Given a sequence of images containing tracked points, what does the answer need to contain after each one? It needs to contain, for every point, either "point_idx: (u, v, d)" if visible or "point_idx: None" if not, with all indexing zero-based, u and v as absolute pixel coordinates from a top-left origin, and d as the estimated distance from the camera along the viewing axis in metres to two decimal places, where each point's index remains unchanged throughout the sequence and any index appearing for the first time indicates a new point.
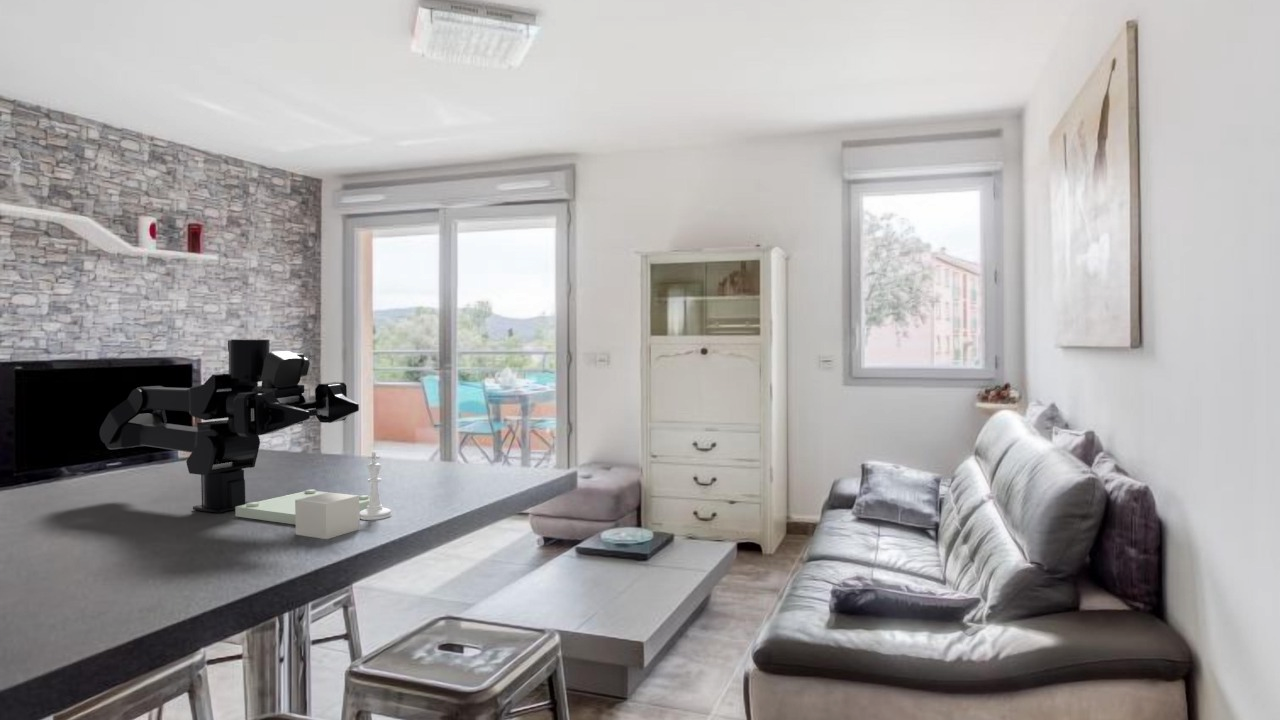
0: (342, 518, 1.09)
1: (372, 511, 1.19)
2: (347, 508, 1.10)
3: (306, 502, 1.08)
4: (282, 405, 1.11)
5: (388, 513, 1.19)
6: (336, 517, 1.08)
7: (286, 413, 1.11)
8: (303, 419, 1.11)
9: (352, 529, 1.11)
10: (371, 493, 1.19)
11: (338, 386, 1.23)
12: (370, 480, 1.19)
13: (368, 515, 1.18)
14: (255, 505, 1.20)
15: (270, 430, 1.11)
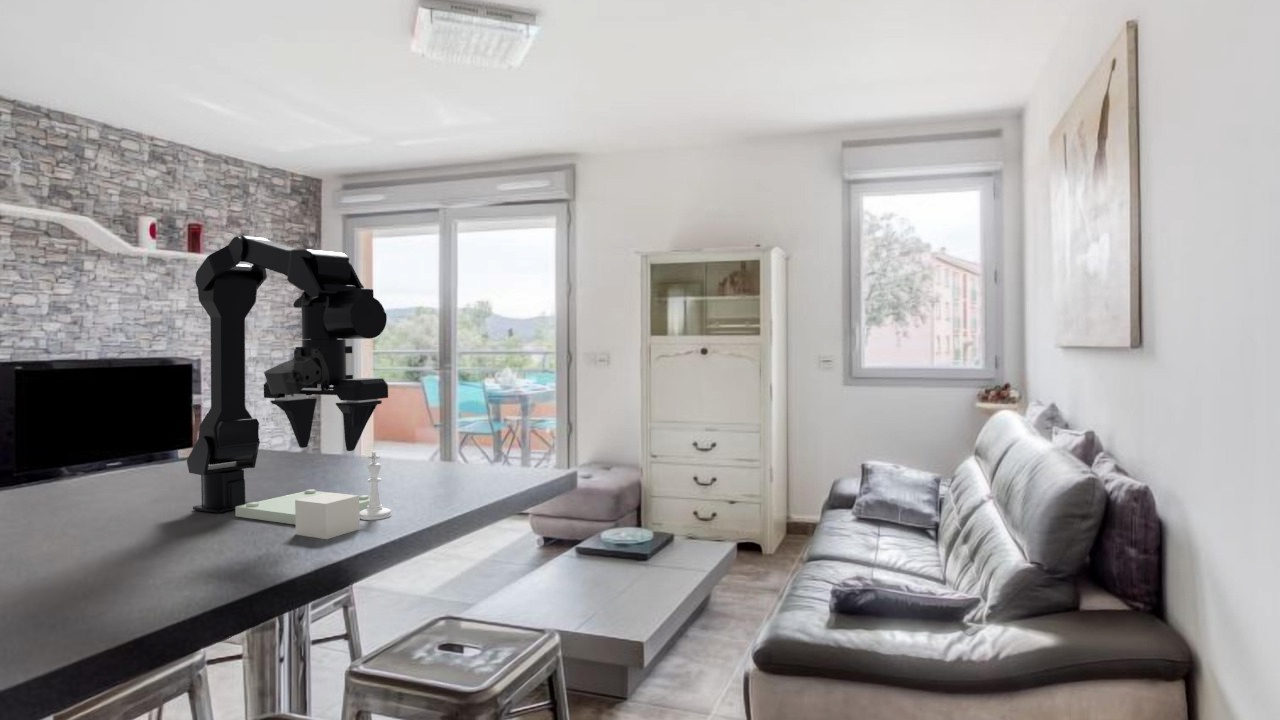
0: (342, 518, 1.09)
1: (372, 511, 1.19)
2: (347, 508, 1.10)
3: (306, 502, 1.08)
4: (290, 419, 1.11)
5: (388, 513, 1.19)
6: (336, 517, 1.08)
7: None
8: None
9: (352, 529, 1.11)
10: (371, 493, 1.19)
11: (346, 406, 1.05)
12: (370, 480, 1.19)
13: (368, 515, 1.18)
14: (255, 505, 1.20)
15: None
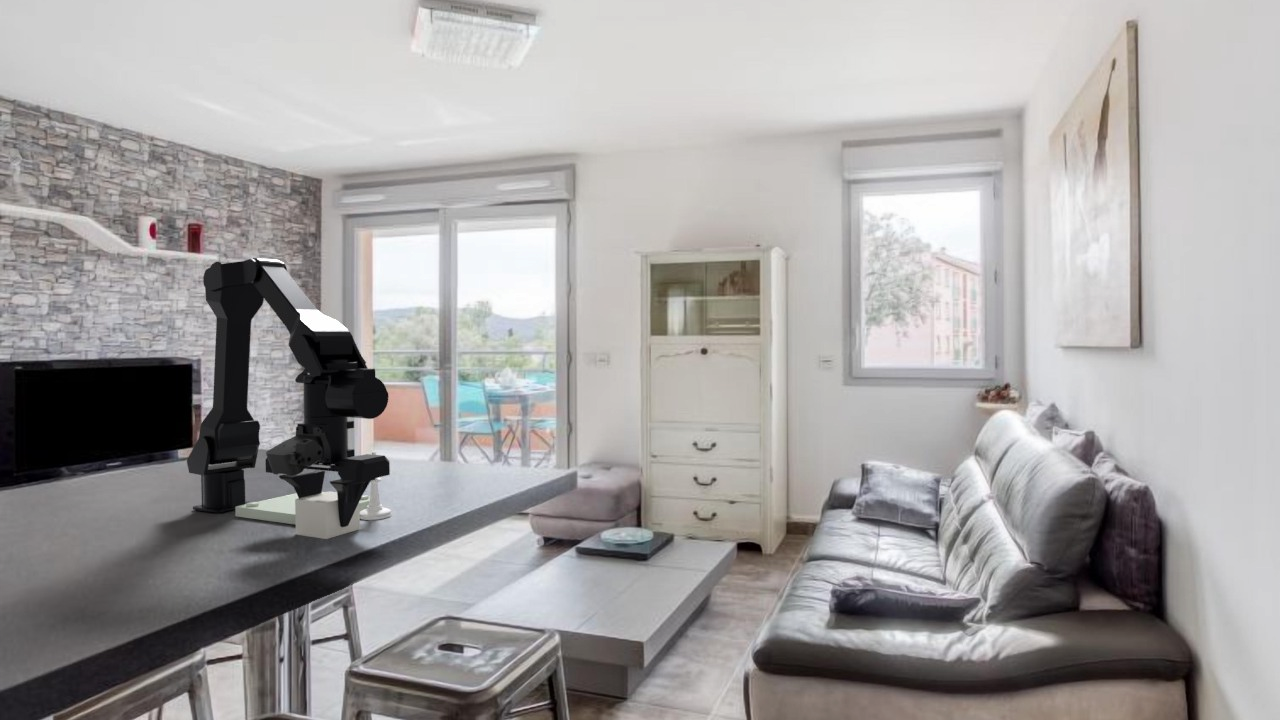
0: None
1: (372, 511, 1.19)
2: None
3: (306, 501, 1.08)
4: (299, 495, 1.11)
5: (388, 513, 1.19)
6: (336, 516, 1.08)
7: None
8: None
9: (352, 528, 1.11)
10: (371, 493, 1.19)
11: (340, 485, 1.05)
12: None
13: (368, 515, 1.18)
14: (255, 505, 1.20)
15: None
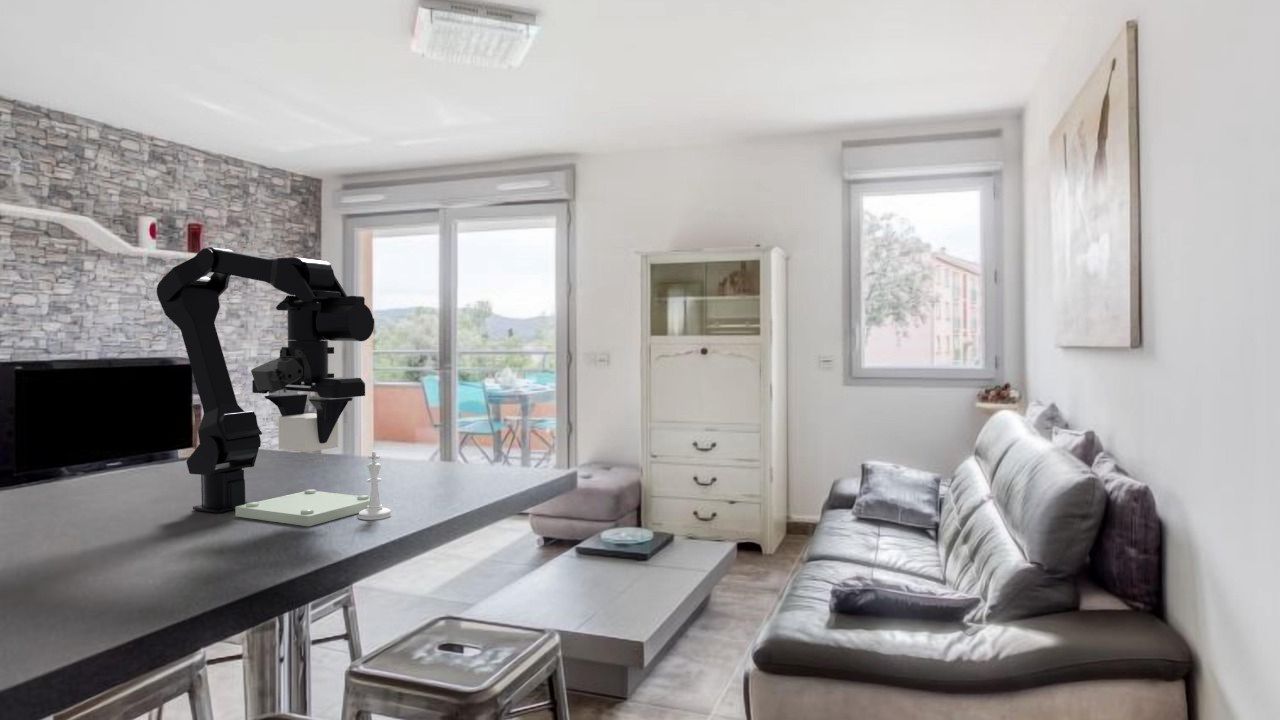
0: None
1: (372, 511, 1.19)
2: None
3: (288, 418, 1.17)
4: (282, 414, 1.20)
5: (388, 513, 1.19)
6: (316, 432, 1.17)
7: None
8: None
9: (331, 445, 1.20)
10: (371, 493, 1.19)
11: (318, 402, 1.15)
12: (370, 480, 1.19)
13: (368, 515, 1.18)
14: (255, 505, 1.20)
15: None
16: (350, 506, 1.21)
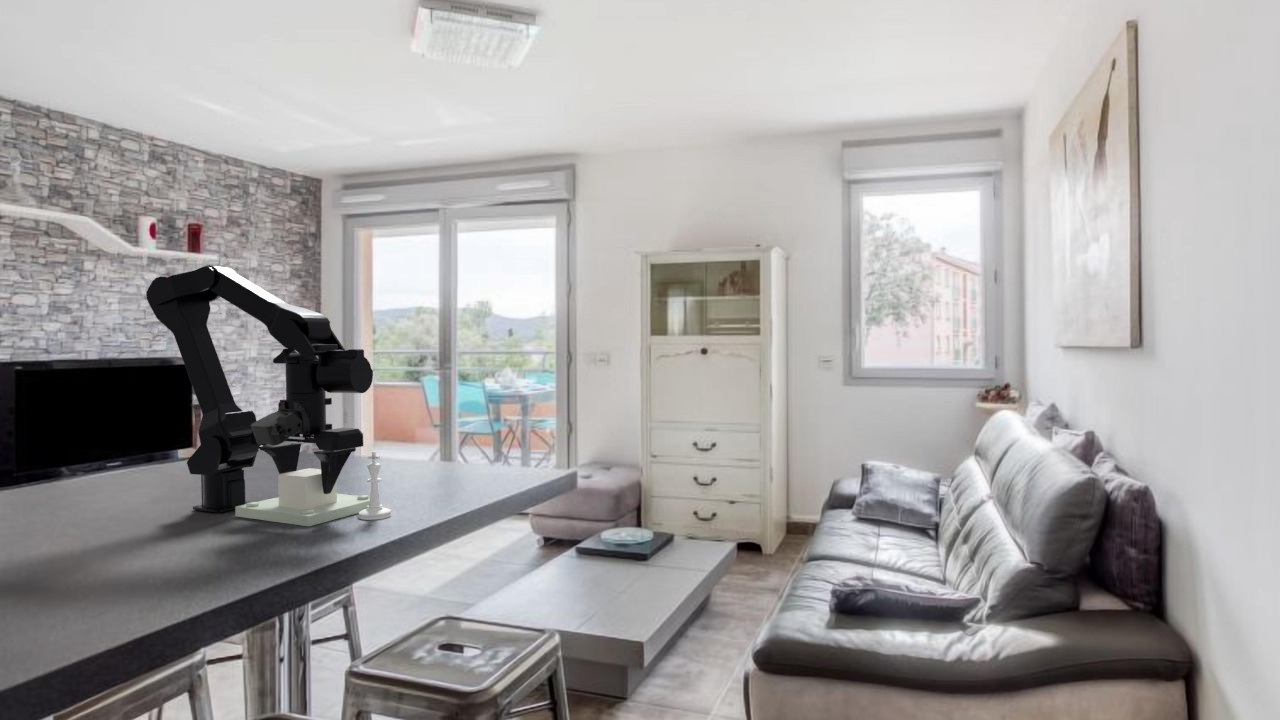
0: (320, 491, 1.21)
1: (372, 511, 1.19)
2: None
3: (288, 476, 1.20)
4: (277, 464, 1.23)
5: (388, 513, 1.19)
6: (315, 489, 1.20)
7: None
8: None
9: (330, 501, 1.22)
10: (371, 493, 1.19)
11: (323, 455, 1.16)
12: (370, 480, 1.19)
13: (368, 515, 1.18)
14: (255, 505, 1.20)
15: None
16: (350, 506, 1.21)
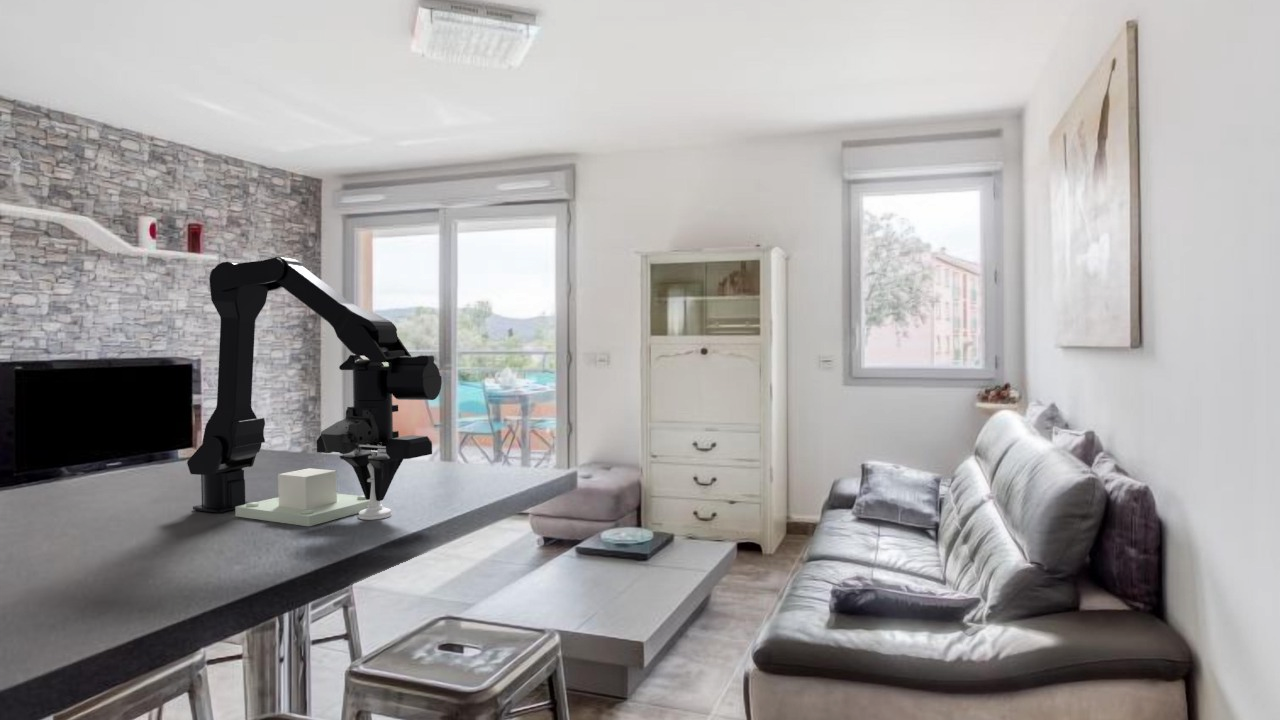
0: (320, 491, 1.21)
1: (372, 510, 1.19)
2: (325, 482, 1.21)
3: (288, 476, 1.20)
4: (357, 474, 1.19)
5: (388, 513, 1.19)
6: (315, 489, 1.20)
7: None
8: None
9: (330, 501, 1.22)
10: (371, 493, 1.19)
11: (377, 462, 1.16)
12: (370, 480, 1.19)
13: (368, 514, 1.18)
14: (255, 505, 1.20)
15: None
16: (350, 506, 1.21)
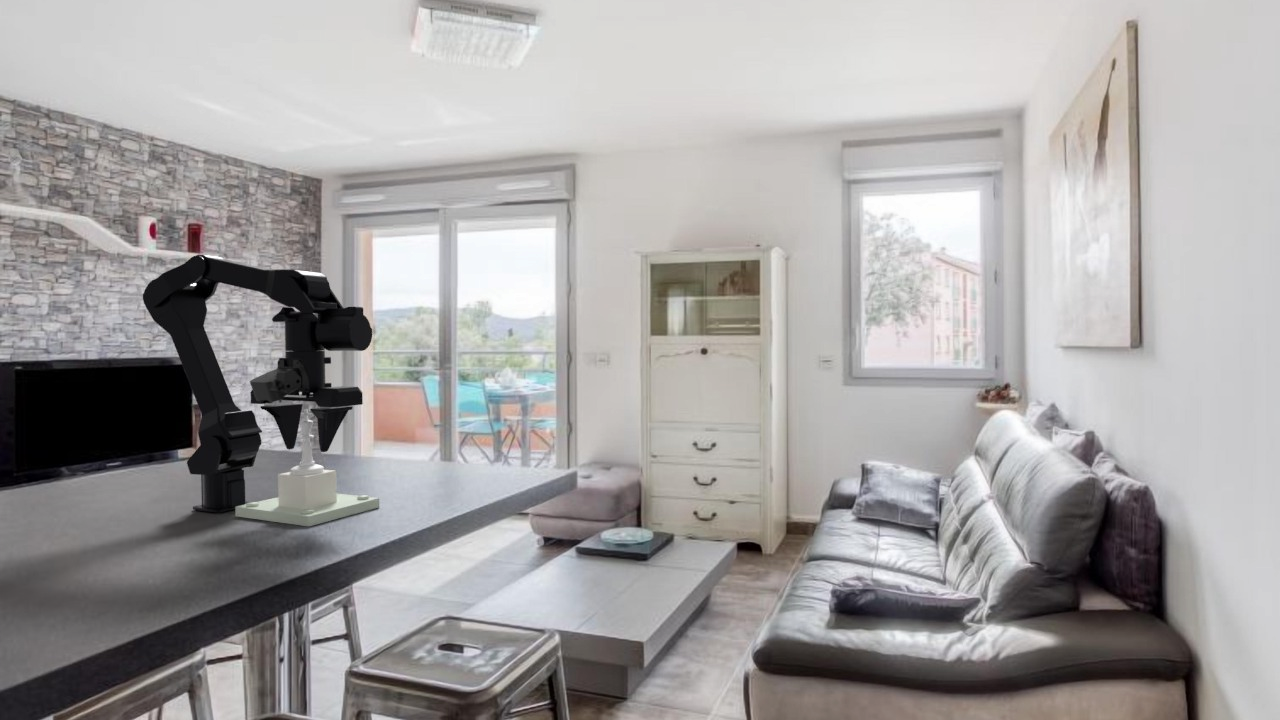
0: (320, 491, 1.21)
1: (304, 466, 1.20)
2: (325, 482, 1.21)
3: (287, 476, 1.20)
4: (278, 423, 1.22)
5: (320, 469, 1.21)
6: (315, 489, 1.20)
7: None
8: None
9: (330, 501, 1.22)
10: (303, 449, 1.21)
11: (319, 412, 1.17)
12: (302, 436, 1.21)
13: (299, 470, 1.19)
14: (255, 505, 1.20)
15: None
16: (350, 506, 1.21)
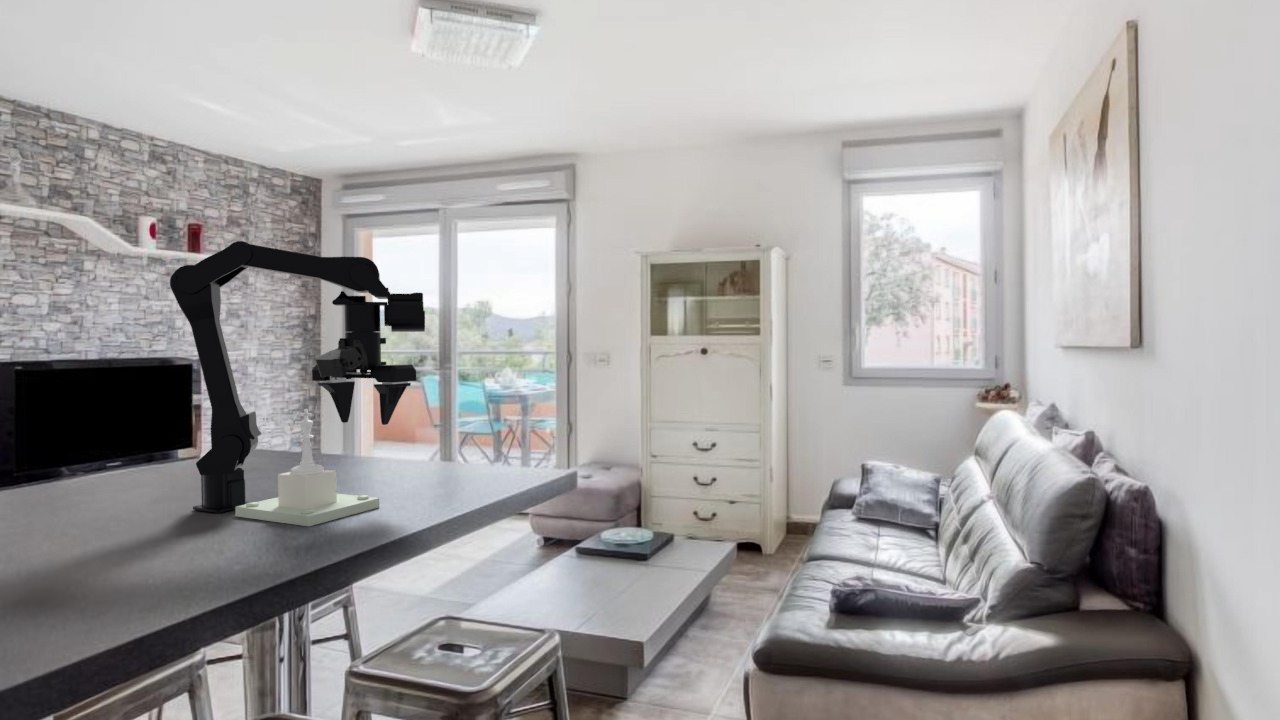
0: (320, 491, 1.21)
1: (304, 466, 1.20)
2: (325, 482, 1.21)
3: (287, 476, 1.20)
4: (334, 399, 1.34)
5: (320, 469, 1.21)
6: (315, 489, 1.20)
7: None
8: None
9: (330, 501, 1.22)
10: (303, 449, 1.21)
11: (382, 387, 1.27)
12: (302, 436, 1.21)
13: (299, 470, 1.19)
14: (255, 505, 1.20)
15: None
16: (350, 506, 1.21)
